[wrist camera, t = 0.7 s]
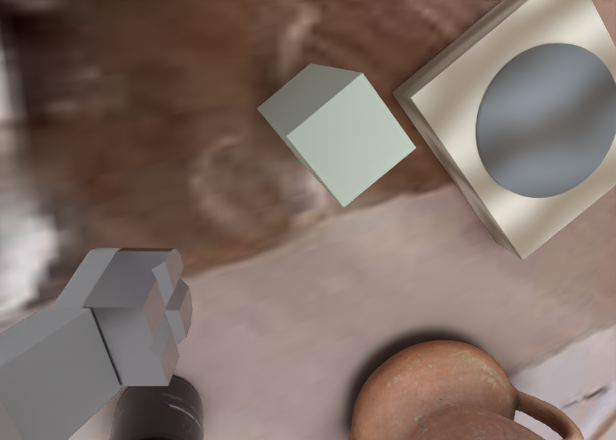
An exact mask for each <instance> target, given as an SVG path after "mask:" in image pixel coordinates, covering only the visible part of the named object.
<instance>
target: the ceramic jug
mask: <svg viewBox="0 0 616 440" xmlns="http://www.w3.org/2000/svg"><path fill="white" fill-rule="evenodd" d="M515 410H518V411H522V412H523V413H526V414H527V415H529V416H531V417H533V418H534V419H536V420H539V421H540V422H542V423H544V424H546V425H547V426H549V427H550V428H551V429H552V430H554V431H555V432H557V433H558V434H559V435H560V436H561V437H562V438H563V440H584V437H583V435H582V433H581V431H580V430H579V428H578V427H577V426H576V424H575V423H574V422H573V421H572V420H571V419H570V418H569V417H568V416H567V415H566V414H565V413H564V412H562V411H561V410H559V409H558V408H556V407H555V406H553V405H551V404H549V403H547V402H545V401H542V400H540V399H538V398H535V397H533V396H530V395H527V394H525V393H523V392H520V391H518V390H517V389H516V388H515V387H513V386H512V384H511V383H510V381H509V378H508V376H507V374H506V372H505V371H504V369H503V368H502V366H501V365H500V364H499V363H498V362H497V361H496V360H495V359H494V358H493V357H492V356H490V355H489V354H488V353H486V352H485V351H483V350H482V349H480V348H478V347H476V346H473V345H471V344H467V343H464V342H459V341H452V340H434V341H427V342H422V343H419V344H415V345H412V346H410V347H407V348H405V349H403V350H401V351H399V352H398V353H396V354H394V355H393V356H391V357H390V358H389V359H388V360H386V361H385V362H384V363H383V364H381V365H380V366H379V367H378V368H377V369H376V370H375V371H374V372H373V373H372V374H371V375H370V376H369V378H368V379H367V380H366V382H365V383H364V385H363V387H362V388H361V390H360V392H359V395H358V397H357V399H356V402H355V406H354V410H353V415H352V424H351V430H350V436H349V440H545V439H543V438H542V437H541V436H539V435H537V434H536V433H534V432H533V431H531V430H530V429H528V428H526V427H524V426H522V425H520V424H518V423H516V422H515V421H514V416H515Z"/></svg>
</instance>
